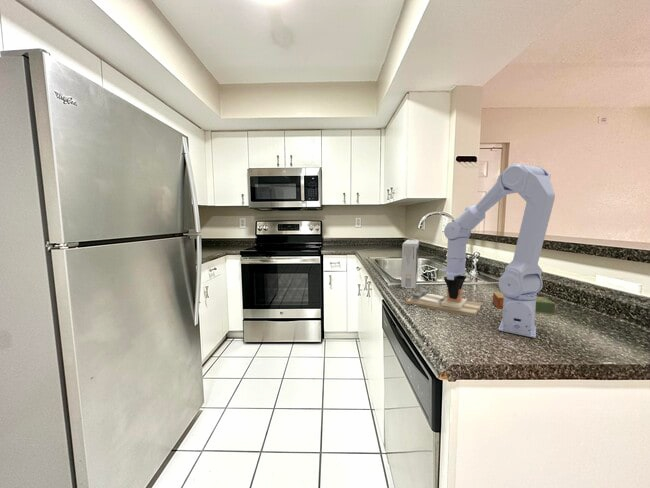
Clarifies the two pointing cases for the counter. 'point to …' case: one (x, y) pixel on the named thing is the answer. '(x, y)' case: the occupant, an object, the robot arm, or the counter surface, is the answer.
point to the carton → (541, 304)
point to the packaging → (409, 263)
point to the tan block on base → (454, 301)
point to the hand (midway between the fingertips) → (454, 297)
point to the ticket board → (435, 303)
